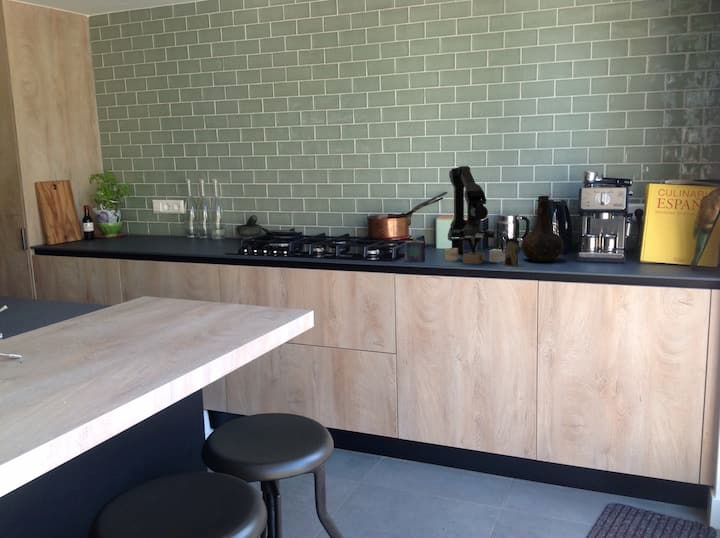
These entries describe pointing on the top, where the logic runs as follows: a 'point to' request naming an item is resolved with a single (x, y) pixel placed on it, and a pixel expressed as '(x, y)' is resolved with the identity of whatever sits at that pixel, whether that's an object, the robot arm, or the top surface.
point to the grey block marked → (496, 255)
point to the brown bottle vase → (542, 237)
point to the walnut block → (473, 257)
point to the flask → (414, 251)
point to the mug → (510, 251)
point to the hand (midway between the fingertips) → (473, 253)
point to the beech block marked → (451, 254)
